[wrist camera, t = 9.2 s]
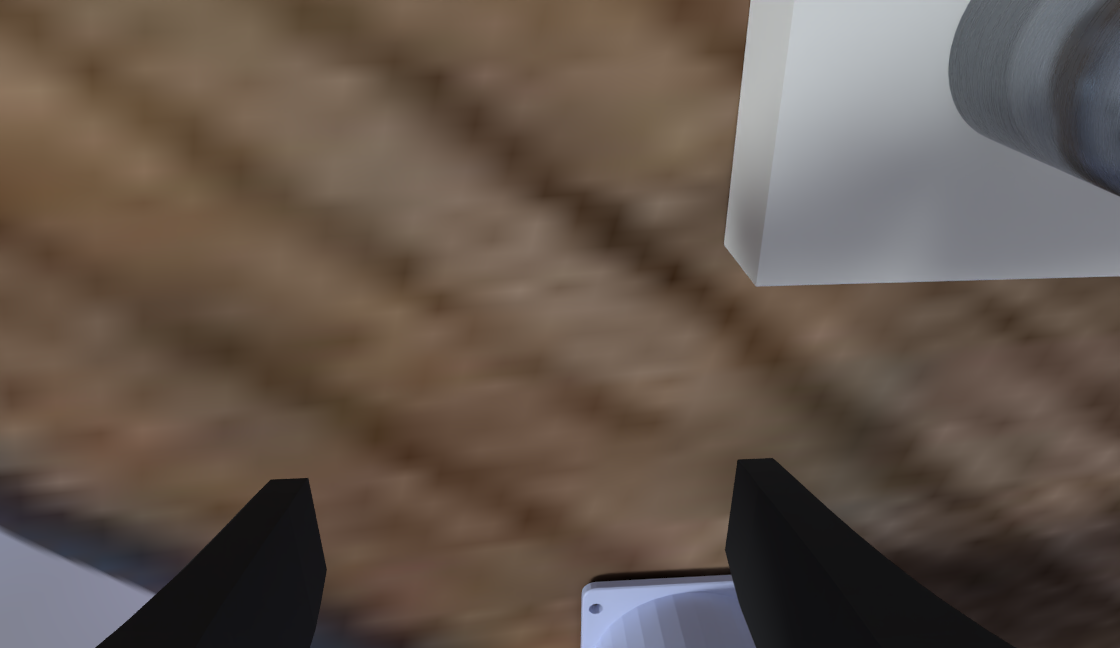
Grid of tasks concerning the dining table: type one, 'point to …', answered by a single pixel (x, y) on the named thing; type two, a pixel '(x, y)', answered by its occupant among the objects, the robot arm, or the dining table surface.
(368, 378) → the dining table surface
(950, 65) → the grey cylinder
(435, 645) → the dining table surface
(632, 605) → the robot arm
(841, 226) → the base block
